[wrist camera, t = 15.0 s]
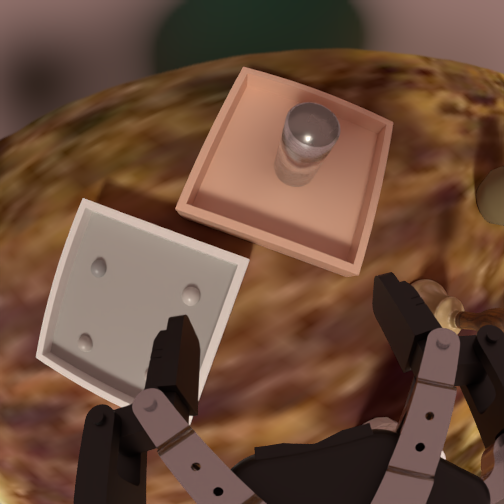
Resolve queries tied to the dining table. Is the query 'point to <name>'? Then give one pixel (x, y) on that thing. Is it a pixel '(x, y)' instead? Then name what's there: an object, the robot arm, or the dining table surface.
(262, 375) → the dining table surface
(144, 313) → the bin
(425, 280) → the hand bell
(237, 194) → the terracotta bin
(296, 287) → the dining table surface
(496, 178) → the squeeze bottle
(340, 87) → the dining table surface
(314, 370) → the dining table surface
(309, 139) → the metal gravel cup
